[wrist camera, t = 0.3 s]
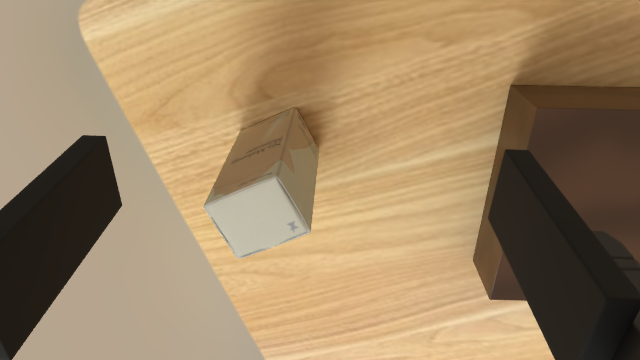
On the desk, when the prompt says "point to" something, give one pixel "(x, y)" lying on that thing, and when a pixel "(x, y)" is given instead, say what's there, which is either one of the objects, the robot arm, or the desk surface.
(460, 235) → the desk surface
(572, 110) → the block
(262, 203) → the box
